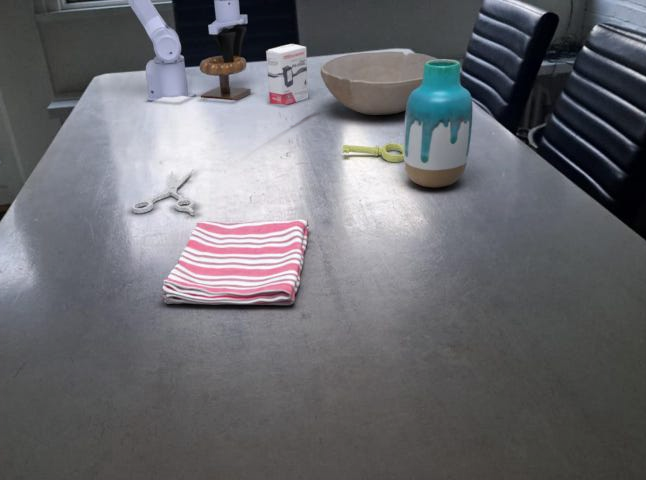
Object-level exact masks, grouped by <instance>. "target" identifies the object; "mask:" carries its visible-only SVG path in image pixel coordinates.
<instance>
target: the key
mask: <svg viewBox="0 0 646 480" xmlns="http://www.w3.org/2000/svg"><path fill="white" fill-rule="evenodd" d="M388 151H397V152H399V153H401V154H393V153H389V152H388ZM342 153H343V154H345V153H346V154H350V153H354V154H355V153H357V154H369V155H374V156H375V157H378V156H381V158H382V159H384V161H387V162H390V163H391V162H392V163H400V162H404V145H402V144H399V143H395V142H388V143H385V144H383V145H382V147H380V146H379V145H376V146H363V145H353V144H352V145H351V144H350V145H349V144H342Z"/></svg>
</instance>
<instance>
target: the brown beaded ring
mask: <svg viewBox="0 0 646 480" xmlns="http://www.w3.org/2000/svg"><path fill="white" fill-rule="evenodd" d="M246 69H247V60H246V59H245V58H244V57H241V56H240V57H239V56H233V62H230V63H225V62H224V60H223V57H222V55H217V56H212V57H211V56H210V57H208V58H205V59H203V60H201V62H200V63H199V71H200V72H201V73H202V74H204V75H207V76H215V77H219V76H222V75H229V76H231V75H236V74H240V73H241V72H244V71H245V70H246Z"/></svg>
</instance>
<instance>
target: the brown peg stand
mask: <svg viewBox="0 0 646 480" xmlns="http://www.w3.org/2000/svg"><path fill="white" fill-rule="evenodd" d="M218 79H219V80H218V82H219V86H218V87H215V88H213V89H211V90H209V91H207V92H204V93H202V94H200V95H199V97H200V98H202V99H213V100H223V101H224V100H225V101H239V100H241V99H243V98H246V97H247V96H249V95H251V94H252V92H251V88H245V87H233V86H231V84H230V83H231V82H230V75H222V76H218Z"/></svg>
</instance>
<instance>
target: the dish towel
mask: <svg viewBox="0 0 646 480" xmlns="http://www.w3.org/2000/svg"><path fill="white" fill-rule="evenodd" d="M309 230H310V225H309V220H308V219H306V218H305V219H302V218H301V219H293V220H265V221H261V220H260V221H259V220H254V221H241V222H240V221H234V222H222V221H214V220H199V221H197V222H196V225H195V226H194V228H193V230H192V231H191V234H190V236H189V238H188V242H187V244H186V246H185V247H184V249H183V250H182V252H181V254H180V257H179V259H178V263H177V264H175V266H174V267H173V268H172V270H171V271H170V273H169V274H168V276H167V278H165V279H164V280H163V281H162V283H163V285H162V287H161V291H162V292H163V293H164V294H163V298H164V303H165V304H168V305H170V304H173V305H177V304H178V305H180V304H191V305H192V304H193V305H251V306H252V305H255V306H257V305H258V306H259V305H262V306H265V305H267V306H268V305H269V306H272V305H273V306H291V305H292V304H294V302H295V300H296V297H295V296H296V295H295V294H297V292H298V289H299V287H300V283H301V272H302V269H303V266H304V260H305V258H304V256H305V255H304V254H305V251H306V248H307V244H308V232H309Z"/></svg>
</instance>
